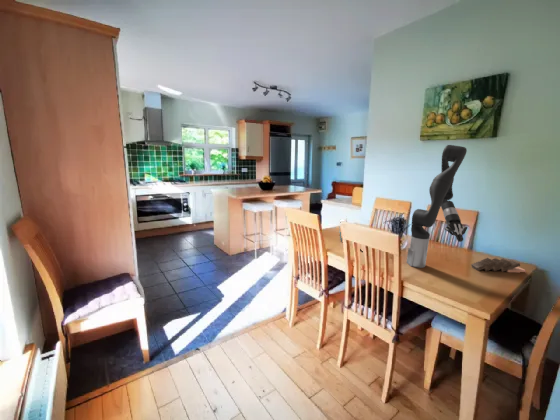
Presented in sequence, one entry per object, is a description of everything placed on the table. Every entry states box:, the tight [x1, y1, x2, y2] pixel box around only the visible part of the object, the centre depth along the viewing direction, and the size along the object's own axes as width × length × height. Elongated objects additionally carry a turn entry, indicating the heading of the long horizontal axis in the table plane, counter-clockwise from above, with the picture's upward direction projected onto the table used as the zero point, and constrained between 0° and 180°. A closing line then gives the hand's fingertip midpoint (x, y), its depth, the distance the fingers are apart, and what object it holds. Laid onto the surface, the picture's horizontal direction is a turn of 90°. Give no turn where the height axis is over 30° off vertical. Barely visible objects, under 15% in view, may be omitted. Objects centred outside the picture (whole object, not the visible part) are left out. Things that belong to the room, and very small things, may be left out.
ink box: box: [339, 215, 348, 233], centre depth 214 cm, size 8×5×15 cm, turn 168°
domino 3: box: [490, 258, 511, 272], centre depth 153 cm, size 2×5×10 cm
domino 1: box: [470, 257, 495, 272], centre depth 153 cm, size 2×5×10 cm
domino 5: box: [505, 266, 526, 273], centre depth 153 cm, size 2×5×10 cm
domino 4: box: [498, 259, 521, 273], centre depth 153 cm, size 2×5×10 cm
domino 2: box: [482, 257, 503, 272], centre depth 153 cm, size 2×5×10 cm
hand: (460, 241), depth 157 cm, fingers closed
